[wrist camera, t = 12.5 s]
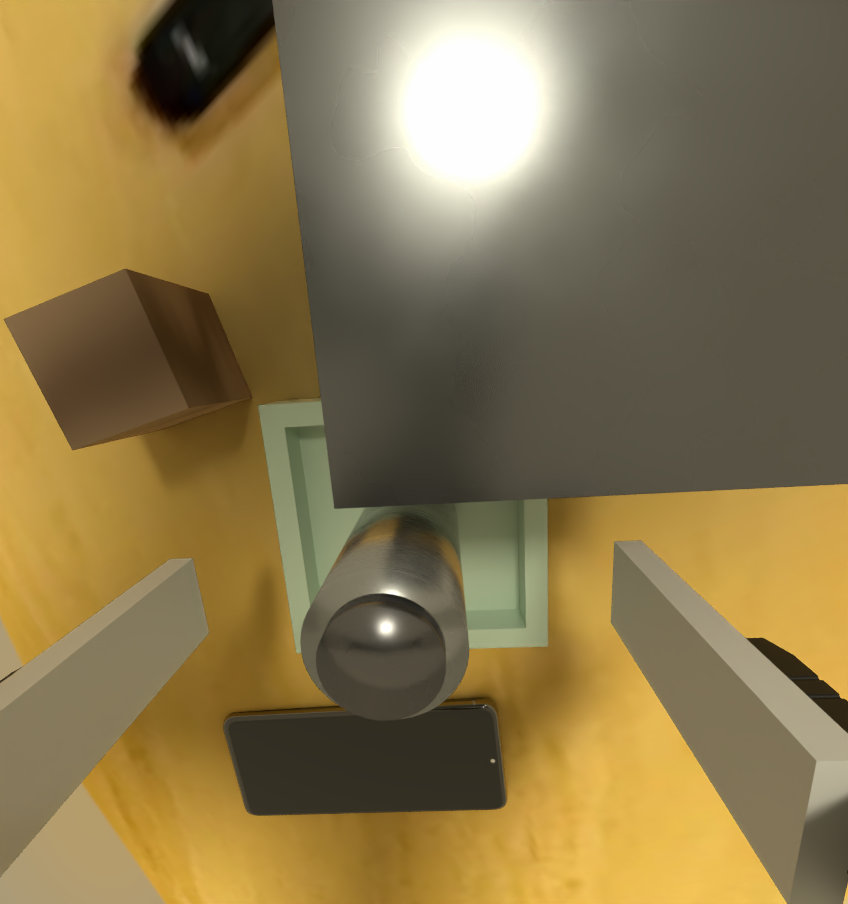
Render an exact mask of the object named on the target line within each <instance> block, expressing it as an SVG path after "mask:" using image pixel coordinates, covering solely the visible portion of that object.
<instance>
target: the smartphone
mask: <svg viewBox="0 0 848 904" xmlns="http://www.w3.org/2000/svg"><path fill="white" fill-rule="evenodd" d="M223 729H224V734H225V737H226V741H227V744H228V748H229V751H230V755H231V759H232V762H233V766H234V769H235V773H236V777H237V780H238V784H239V788H240V791H241V795H242V798H243V802H244V806H245V808H246V810H247V812H248V813H250V814H252V815H257V816H266V815H304V814H343V813H381V812H419V811H458V810H494V809H500V808H503V807H504V806H505V805H506V802H507V787H506V778H505V768H504V759H503V750H502V741H501V733H500V723H499V714H498V709H497V706H496V704H495V703H494V702H493V701H492V700H490V699H485V698H471V699H452V700H445V701H444V702H442V703H441V704H440V705H438V706H437V707H435V708H433V709H432V710H430V711H428V712H425V713H423V714H420V715H417V716H414V717H410V718H405V719H397V720H388V721H383V720H373V719H368V718H364V717H361V716H358V715H355V714H353V713H351V712H349V711H347V710H346V709H344V708H343V707H341V706H327V707H312V708H296V709H281V710H266V711H252V712H235V713H231V714H229V715H228V716H227V717H226V719H225V721H224V725H223Z"/></svg>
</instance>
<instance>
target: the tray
mask: <svg viewBox="0 0 848 904" xmlns="http://www.w3.org/2000/svg"><path fill="white" fill-rule="evenodd" d="M258 409H259V415H260V422H261V428H262V435H263V441H264V448H265V454H266V460H267V467H268V473H269V480H270V486H271V493H272V499H273V506H274V512H275V518H276V525H277V531H278V538H279V544H280V551H281V557H282V563H283V570H284V576H285V583H286V589H287V596H288V602H289V609H290V615H291V621H292V628H293V634H294V641H295V647H296V653H301V645H300V638H301V629H302V625H303V621H304V619H305V616H306V614H307V612H308V610H309V608H310V606H311V605H312V603H313V601H314V599H315V597H316V595H317V594H318V592H319V590H320V588H321V586H322V585H323V583H324V581H325V579H326V577H327V575H328V574H329V572H330V570H331V568H332V566H333V565H334V563H335V561H336V559H337V557H338V555H339V554H340V552H341V550H342V548H343V546H344V545H345V543H346V541H347V539H348V537H349V535H350V534H351V532H352V530H353V528H354V526H355V525H356V523H357V521H358V519H359V517H360V515H361V514H362V512H363V510H364V508H365V507H364V508H344V509H334V503H333V494H332V486H331V478H330V470H329V461H328V453H327V445H326V437H325V429H324V420H323V412H322V404H321V398H309V399H294V400H281V401H276V402H271V403H267V404H262V405H258ZM454 504H455V507H456V512H457V521H458V532H459V543H460V553H461V564H462V575H463V586H464V596H465V607H466V618H467V629H468V639H469V649H474V648H511V647H548V499H528V500H508V501H487V502H467V503H454Z"/></svg>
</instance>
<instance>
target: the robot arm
mask: <svg viewBox="0 0 848 904" xmlns="http://www.w3.org/2000/svg"><path fill="white" fill-rule="evenodd" d="M611 623H612V625H613V626H614V628H615V630H616V631H617V633H618V634H619V636H620V638H621V639H622V641H623V642H624V644H625V646H626V647H627V649H628V650H629V652H630V654H631V655H632V657H633V658H634V660H635V662H636V663H637V665H638V666H639V668H640V670H641V671H642V673H643V674H644V676H645V678H646V679H647V681H648V682H649V684H650V686H651V687H652V689H653V690H654V692H655V693H656V695H657V697H658V698H659V700H660V701H661V703H662V705H663V706H664V708H665V709H666V711H667V713H668V714H669V716H670V717H671V719H672V721H673V722H674V724H675V725H676V727H677V729H678V730H679V732H680V733H681V735H682V737H683V738H684V740H685V741H686V743H687V745H688V746H689V748H690V749H691V751H692V753H693V754H694V756H695V757H696V759H697V760H698V762H699V764H700V765H701V767H702V768H703V770H704V772H705V773H706V775H707V776H708V778H709V780H710V781H711V783H712V784H713V786H714V788H715V789H716V791H717V792H718V794H719V796H720V797H721V799H722V800H723V802H724V804H725V805H726V807H727V808H728V810H729V812H730V813H731V815H732V816H733V818H734V819H735V821H736V823H737V824H738V826H739V827H740V829H741V831H742V832H743V834H744V835H745V837H746V839H747V840H748V842H749V843H750V845H751V847H752V848H753V850H754V851H755V853H756V855H757V856H758V858H759V859H760V861H761V863H762V864H763V866H764V867H765V869H766V871H767V872H768V874H769V875H770V877H771V879H772V880H773V882H774V883H775V885H776V886H777V888H778V890H779V891H780V893H781V894H782V896H783V898H784V899H785V901H786V902H787V904H843V901H844V896H845V892H846V888H847V884H848V701H847V700H845V699H841V698H840V696H839V694H838V693H837V692H836V691H835V690H834V689H833V688H831V687H830V686H829V685H828V684H827V683H826V682H824V681H823V680H819V678H818V676H817V675H816V674H815V673H814V672H813V671H812V670H810V669H809V668H808V667H807V666H806V665H804V664H803V663H802V662H801V661H800V660H799V659H797V658H796V657H795V656H794V655H792V654H791V653H789V652H787V651H785V650H784V649H782V648H780V647H778V646H777V645H775V644H773V643H771V642H769V641H768V640H766V639H764V638H745V637H744V636H743V635H742V634H741V633H740V632H738V631H737V630H736V629H735V628H734V627H733V626H732V625H731V624H730V623H729V622H728V621H727V620H726V619H725V618H723V617H722V616H721V615H720V614H719V613H718V612H717V611H716V610H715V609H714V608H713V607H712V606H711V605H710V604H708V603H707V602H706V601H705V600H704V599H703V598H702V597H701V596H700V595H699V594H698V593H697V592H696V591H695V590H693V589H692V588H691V587H690V586H689V585H688V584H687V583H686V582H685V581H684V580H683V579H682V578H681V577H680V576H678V575H677V574H676V573H675V572H674V571H673V570H672V569H671V568H670V567H669V566H668V565H667V564H666V563H665V562H663V561H662V560H661V559H660V558H659V557H658V556H657V555H656V554H655V553H654V552H653V551H652V550H651V549H650V548H648V547H647V546H646V545H645V544H644V543H643V542H642V541H641V540H639V541H614V561H613V584H612V607H611ZM208 634H209V629H208V625H207V620H206V616H205V611H204V607H203V602H202V598H201V593H200V589H199V584H198V580H197V575H196V570H195V566H194V561H193V558H182V559H169V560H168V561H166V562H165V563H164V564H162V565H161V566H160V567H158V568H157V569H156V570H154V571H153V572H151V573H150V574H149V575H147V576H146V577H145V578H143V579H142V580H141V581H139V582H138V583H136V584H135V585H134V586H132V587H131V588H130V589H128V590H127V591H126V592H124V593H123V594H121V595H120V596H119V597H117V598H116V599H115V600H113V601H112V602H111V603H109V604H108V605H106V606H105V607H104V608H102V609H101V610H100V611H98V612H97V613H96V614H94V615H93V616H91V617H90V618H89V619H87V620H86V621H85V622H83V623H82V624H80V625H79V626H78V627H76V628H75V629H74V630H72V631H71V632H70V633H68V634H67V635H65V636H64V637H63V638H61V639H60V640H59V641H57V642H56V643H55V644H53V645H52V646H50V647H49V648H48V649H46V650H45V651H44V652H42V653H41V654H40V655H38V656H37V657H35V658H34V659H33V660H31V661H30V662H29V663H27V664H26V665H25V666H23V667H21V668H19V669H18V670H16V671H14V672H12V673H11V674H9V675H8V676H7V677H5V678H4V679H2V680H1V681H0V877H1V876H2V874H3V873H4V872H5V871H6V870H7V869H8V868H9V866H10V865H11V864H12V863H13V862H14V861H15V859H16V858H17V857H18V856H19V855H20V853H21V852H22V851H23V850H24V849H25V848H26V846H27V845H28V844H29V843H30V842H31V841H32V839H33V838H34V837H35V836H36V835H37V834H38V832H39V831H40V830H41V829H42V828H43V827H44V825H45V824H46V823H47V822H48V821H49V820H50V818H51V817H52V816H53V815H54V814H55V813H56V811H57V810H58V809H59V808H60V807H61V806H62V804H63V803H64V802H65V801H66V800H67V799H68V797H69V796H70V795H71V794H72V793H73V792H74V790H75V789H76V788H77V787H78V786H79V785H80V783H81V782H82V781H83V780H84V779H85V778H86V776H87V775H88V774H89V773H90V772H91V771H92V769H93V768H94V767H95V766H96V765H97V764H98V762H99V761H100V760H101V759H102V758H103V757H104V755H105V754H106V753H107V752H108V751H109V749H110V748H111V747H112V746H113V745H114V744H115V742H116V741H117V740H118V739H119V738H120V737H121V735H122V734H123V733H124V732H125V731H126V730H127V728H128V727H129V726H130V725H131V724H132V723H133V721H134V720H135V719H136V718H137V717H138V716H139V714H140V713H141V712H142V711H143V710H144V709H145V707H146V706H147V705H148V704H149V703H150V702H151V700H152V699H153V698H154V697H155V696H156V695H157V693H158V692H159V691H160V690H161V689H162V688H163V686H164V685H165V684H166V683H167V682H168V681H169V679H170V678H171V677H172V676H173V675H174V674H175V672H176V671H177V670H178V669H179V668H180V667H181V665H182V664H183V663H184V662H185V661H186V660H187V658H188V657H189V656H190V655H191V654H192V652H193V651H194V650H195V649H196V648H197V647H198V645H199V644H200V643H201V642H202V641H203V640H204V638H205V637H206V636H207V635H208Z"/></svg>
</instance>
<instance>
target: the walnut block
mask: <svg viewBox="0 0 848 904" xmlns="http://www.w3.org/2000/svg"><path fill="white" fill-rule="evenodd" d="M4 321H5V323H6V325H7V327H8V328H9V330H10V332H11V334H12V336H13V338H14V340H15V342H16V344H17V346H18V347H19V349H20V351H21V353H22V355H23V357H24V359H25V361H26V363H27V365H28V367H29V368H30V370H31V372H32V374H33V376H34V378H35V380H36V382H37V384H38V386H39V387H40V389H41V391H42V393H43V395H44V397H45V399H46V401H47V403H48V405H49V407H50V408H51V410H52V412H53V414H54V416H55V418H56V420H57V422H58V424H59V426H60V427H61V429H62V431H63V433H64V435H65V437H66V439H67V441H68V443H69V445H70V446H71V448H72V450H76V449H80V448H84V447H89V446H93V445H98V444H102V443H106V442H111V441H115V440H119V439H124V438H128V437H132V436H137V435H141V434H145V433H150V432H154V431H159V430H163V429H165V428H168V427H171V426H174V425H177V424H179V423H182V422H185V421H188V420H191V419H193V418H196V417H199V416H202V415H205V414H207V413H210V412H213V411H216V410H219V409H221V408H224V407H227V406H230V405H233V404H235V403H238V402H241V401H244V400H247V399H249V398H252V396H251V393H250V391H249V389H248V386H247V384H246V382H245V379H244V377H243V374H242V372H241V370H240V367H239V365H238V363H237V360H236V358H235V355H234V353H233V351H232V348H231V346H230V344H229V341H228V339H227V337H226V334H225V332H224V329H223V327H222V325H221V322H220V320H219V318H218V315H217V313H216V310H215V308H214V306H213V303H212V301H211V299H210V296H209V294H207V293H204V292H200V291H197V290H194V289H190V288H187V287H184V286H181V285H177V284H174V283H171V282H167V281H164V280H161V279H157V278H154V277H151V276H148V275H144V274H141V273H138V272H134V271H131V270H128V269H123V270H121V271H118V272H116V273H114V274H111V275H109V276H106V277H104V278H102V279H99V280H97V281H94V282H92V283H90V284H87V285H85V286H82V287H80V288H77V289H75V290H73V291H70V292H68V293H65V294H63V295H61V296H58V297H56V298H53V299H51V300H49V301H46V302H44V303H41V304H39V305H36V306H34V307H32V308H29V309H27V310H24V311H22V312H20V313H17V314H15V315H12V316H10V317H8V318H5V319H4Z"/></svg>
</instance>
